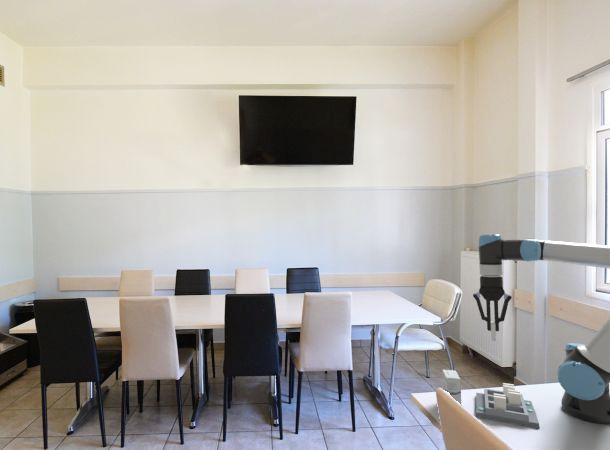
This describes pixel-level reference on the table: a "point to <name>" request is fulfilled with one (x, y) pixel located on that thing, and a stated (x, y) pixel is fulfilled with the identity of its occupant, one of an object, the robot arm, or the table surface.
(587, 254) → the robot arm
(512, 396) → the tab
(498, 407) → the tab
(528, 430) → the table surface
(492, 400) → the switch board
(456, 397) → the ink box
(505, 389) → the tab
